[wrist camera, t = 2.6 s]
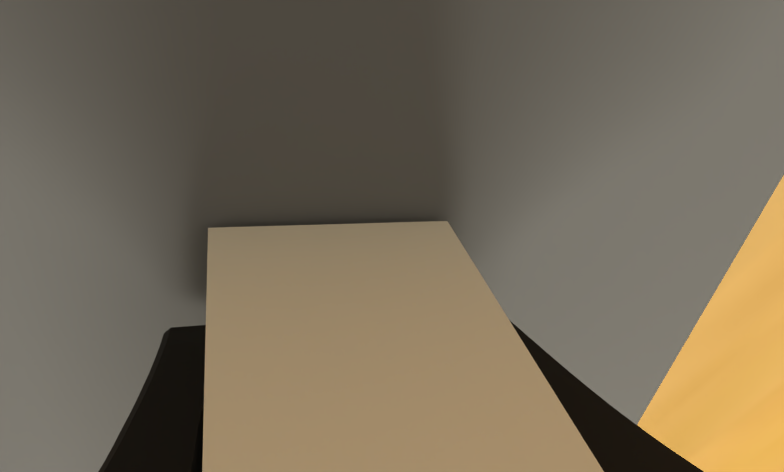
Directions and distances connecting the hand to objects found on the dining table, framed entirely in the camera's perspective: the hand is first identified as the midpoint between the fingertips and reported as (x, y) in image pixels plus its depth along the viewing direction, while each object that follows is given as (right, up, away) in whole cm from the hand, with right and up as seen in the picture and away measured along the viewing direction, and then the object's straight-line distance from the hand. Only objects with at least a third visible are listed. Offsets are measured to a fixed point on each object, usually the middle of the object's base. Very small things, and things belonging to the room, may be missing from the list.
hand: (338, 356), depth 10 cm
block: (0, 0, +1) cm, 1 cm away
